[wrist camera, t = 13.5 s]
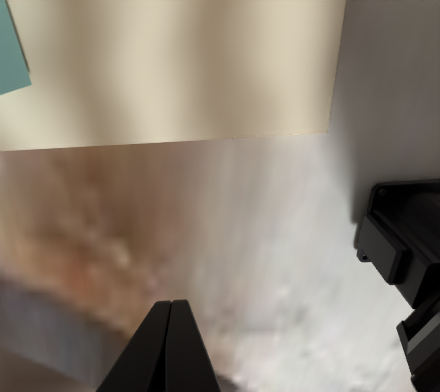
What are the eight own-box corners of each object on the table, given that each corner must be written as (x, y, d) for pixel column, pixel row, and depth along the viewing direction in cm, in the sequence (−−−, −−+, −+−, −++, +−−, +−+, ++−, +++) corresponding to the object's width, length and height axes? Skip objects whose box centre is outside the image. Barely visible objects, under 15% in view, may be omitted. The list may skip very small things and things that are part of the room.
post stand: (358, -160, 12) (536, -375, 6) (321, 128, 18) (388, 184, 12) (-248, -141, 12) (-819, -356, 5) (-84, 150, 18) (-253, 221, 11)
